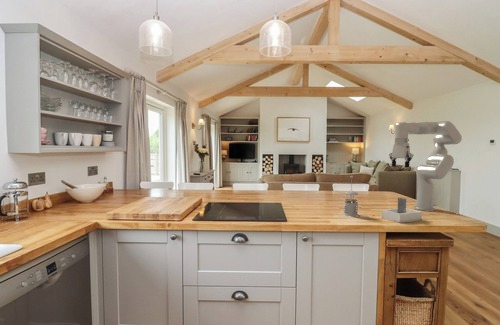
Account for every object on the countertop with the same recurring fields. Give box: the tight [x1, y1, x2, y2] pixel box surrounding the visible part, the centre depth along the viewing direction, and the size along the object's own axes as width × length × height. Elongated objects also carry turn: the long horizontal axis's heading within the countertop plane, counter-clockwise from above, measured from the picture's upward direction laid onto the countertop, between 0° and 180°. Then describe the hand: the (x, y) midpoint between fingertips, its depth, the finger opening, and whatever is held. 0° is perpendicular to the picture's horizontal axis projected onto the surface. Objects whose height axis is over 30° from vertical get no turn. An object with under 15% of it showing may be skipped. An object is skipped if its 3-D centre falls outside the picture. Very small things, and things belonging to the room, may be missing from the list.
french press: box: [342, 175, 360, 218], centre depth 167 cm, size 10×12×25 cm
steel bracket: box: [397, 197, 407, 214], centre depth 157 cm, size 10×4×12 cm, turn 111°
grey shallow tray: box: [381, 207, 423, 224], centre depth 157 cm, size 18×12×5 cm, turn 111°
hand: (400, 167), depth 174 cm, fingers open, 9 cm apart
